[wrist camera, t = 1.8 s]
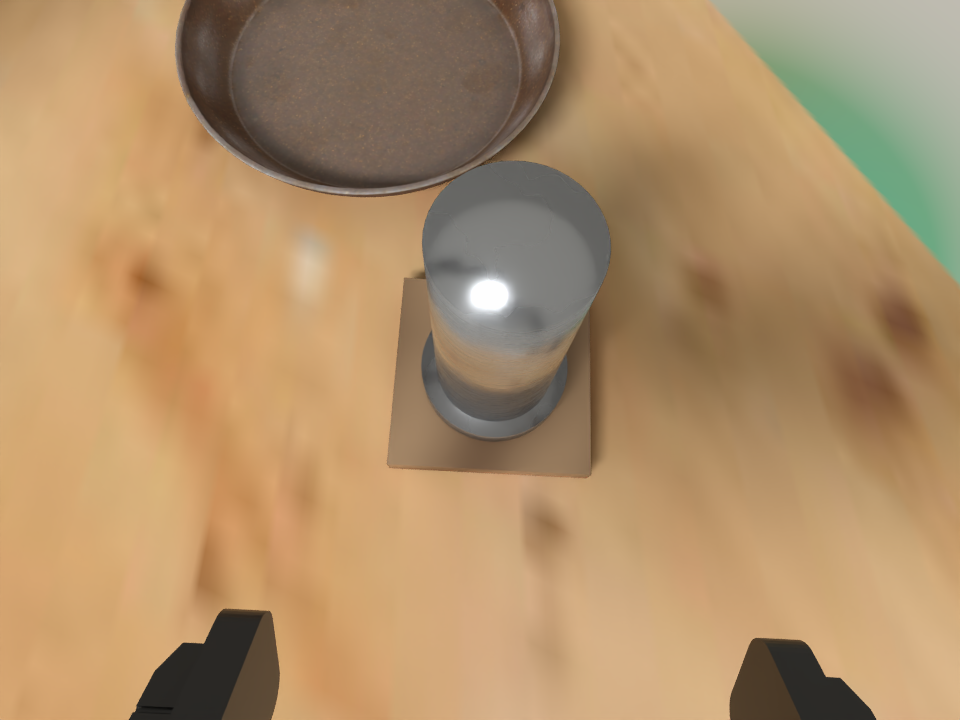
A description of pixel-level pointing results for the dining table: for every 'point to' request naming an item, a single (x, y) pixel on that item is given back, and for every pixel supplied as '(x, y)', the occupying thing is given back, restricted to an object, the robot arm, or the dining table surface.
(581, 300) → the metal cylinder canister
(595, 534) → the dining table surface
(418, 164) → the brown shallow round tray
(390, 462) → the stand
